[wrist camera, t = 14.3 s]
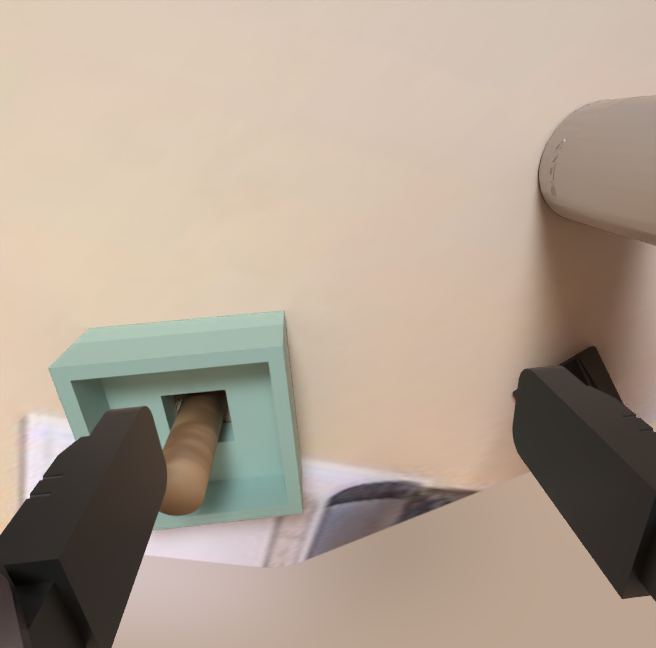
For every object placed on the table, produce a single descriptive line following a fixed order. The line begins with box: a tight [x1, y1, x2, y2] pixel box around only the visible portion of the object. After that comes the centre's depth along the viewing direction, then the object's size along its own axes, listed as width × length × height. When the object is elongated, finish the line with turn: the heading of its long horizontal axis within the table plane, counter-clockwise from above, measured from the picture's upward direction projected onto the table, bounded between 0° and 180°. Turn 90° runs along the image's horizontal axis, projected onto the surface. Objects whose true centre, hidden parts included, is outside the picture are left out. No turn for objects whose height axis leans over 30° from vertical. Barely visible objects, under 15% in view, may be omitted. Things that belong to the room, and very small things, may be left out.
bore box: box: [48, 311, 303, 530], centre depth 38 cm, size 17×17×7 cm
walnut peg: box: [159, 390, 227, 516], centre depth 36 cm, size 4×4×12 cm
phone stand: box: [513, 347, 624, 405], centre depth 39 cm, size 9×6×12 cm, turn 124°
